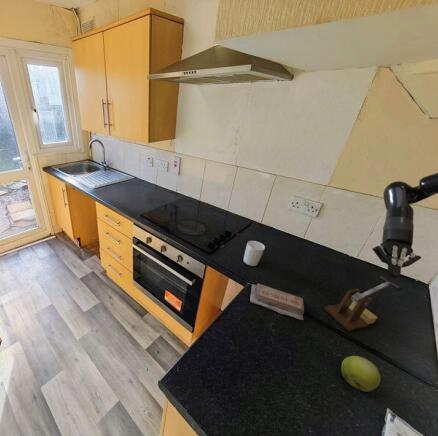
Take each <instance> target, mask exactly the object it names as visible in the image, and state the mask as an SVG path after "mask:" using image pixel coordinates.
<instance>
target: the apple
mask: <svg viewBox="0 0 438 436" xmlns="http://www.w3.org/2000/svg"><path fill="white" fill-rule="evenodd" d="M340 368H341V374H342V377H343V379H344V380H345V381H346V382H347V383H348V384H349V386H351V387H352V388H354V389H357V390H359V391H362V392H366V393H367V392H372V391H374V390H375V389H377V388H378V386H379V385H380V383H381V379H382V378H381V373H380V371H379V369H378V367H377V366H376V364H374V363H373V362H372V361H370V360H369V359H367V358H365V357H362V356H359V355H350V356H346V357H345V358H344V359H343V360H342V362H341V367H340Z"/></svg>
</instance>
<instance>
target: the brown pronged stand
mask: <svg viewBox="0 0 438 436" xmlns="http://www.w3.org/2000/svg"><path fill="white" fill-rule="evenodd" d="M358 292H359V293H361V290H360V289H359V288H354V289H353V288H352V289H348V290H347V292H346V293H345V295H344V296H343V298H342V300H340V303H337V304H331V305H326V306H324V307H323V310H324V311H325V312H327V314H329V315H330V316H331V317H332V318H333V319H334V320H335V321H336V322H337V323H339V325H341V326H342V327H344V328H345V330H347V332H353V331H356V330H362V329H366V328H369V326H370V324H368V323H366V322H365V321H364V320H363V319H361V318H360V316H361V314H362V313H363V312H364V310H365V309H367V307H368V306H369V305H370V303H371V302H372V300H373V298H372V297H370V296H367V297H365V298H361V299H359V301H358V302H357V304H356V305H355V307H354V308H353V310H352V311H351V310H350V309H349V307H350V305H351V304H352V302H353V301H352V300H351V296H352V295H354V294H356V293H358Z"/></svg>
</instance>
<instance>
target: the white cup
mask: <svg viewBox="0 0 438 436" xmlns="http://www.w3.org/2000/svg"><path fill="white" fill-rule="evenodd" d="M265 249H266V246H265V245H264V244H263V243H261V242H259V241H257V240H249V241H247V242H246V247H245V250H244V255H243V263H245V264H246V265H248V266H251V267H256V266H258V265H259V262H260V261H261V259H262V256H263V254H264V252H265Z"/></svg>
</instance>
